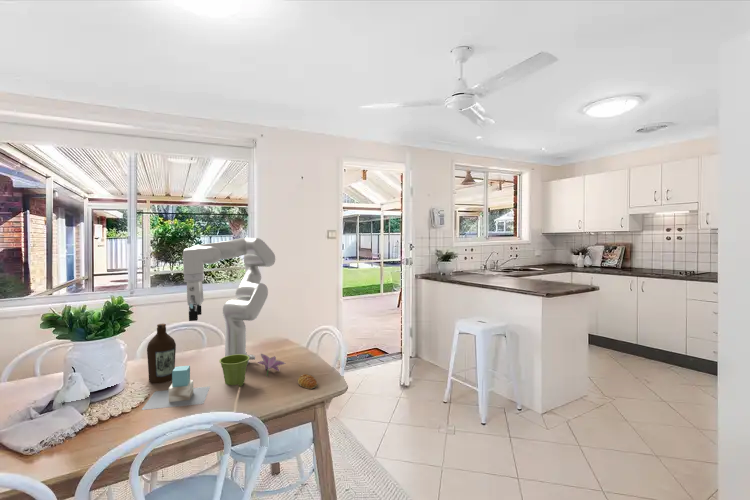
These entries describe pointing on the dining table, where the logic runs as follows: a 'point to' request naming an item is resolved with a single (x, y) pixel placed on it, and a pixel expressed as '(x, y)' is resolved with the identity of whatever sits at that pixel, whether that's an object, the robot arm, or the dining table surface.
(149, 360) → the olive oil
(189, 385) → the cream base block
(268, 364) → the lily
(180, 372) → the teal block
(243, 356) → the plant pot
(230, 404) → the dining table surface
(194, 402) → the slate board
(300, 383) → the pastry
